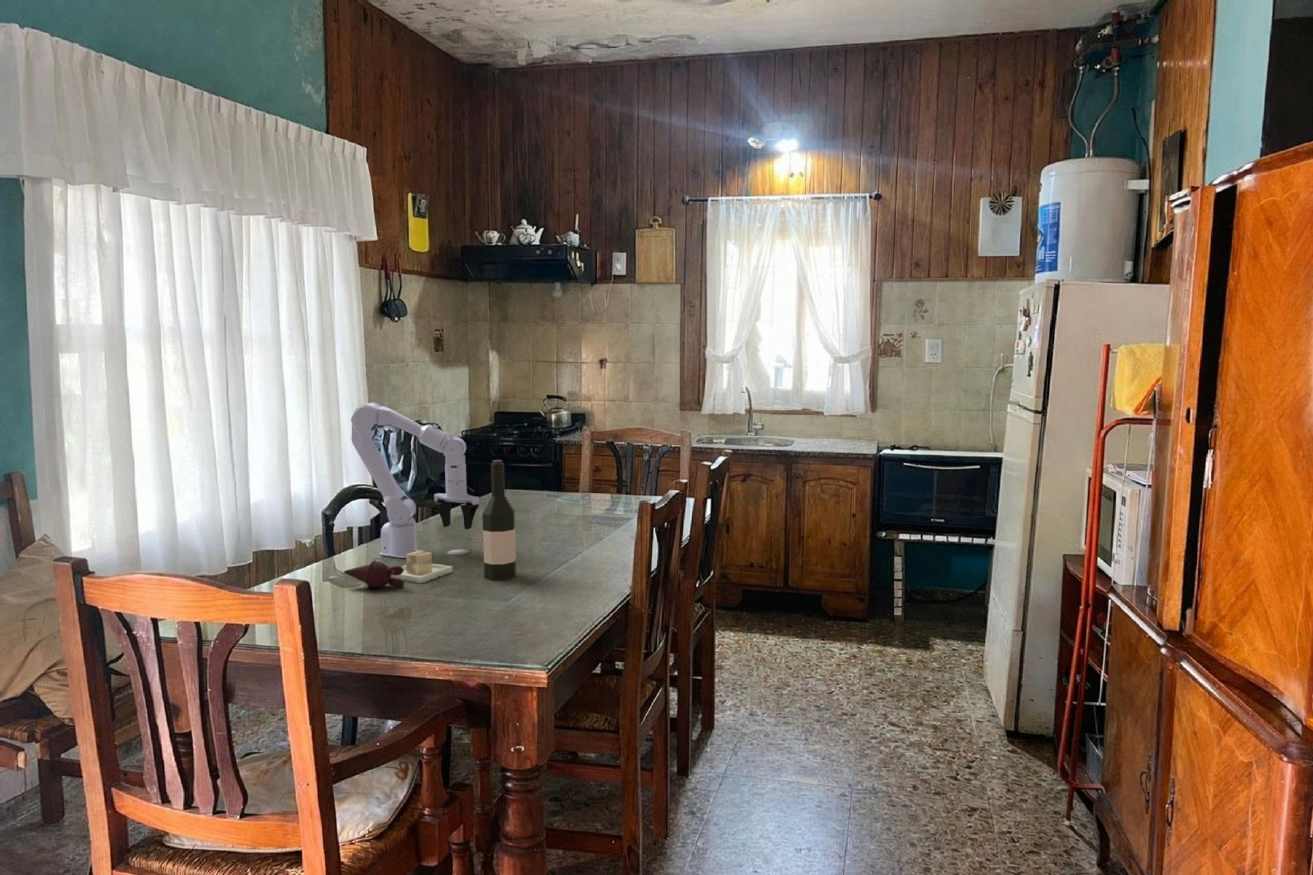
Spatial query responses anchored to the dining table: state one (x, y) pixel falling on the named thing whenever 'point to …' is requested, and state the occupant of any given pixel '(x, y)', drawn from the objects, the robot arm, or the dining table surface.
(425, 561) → the block
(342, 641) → the dining table surface
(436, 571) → the tray
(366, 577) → the icecream
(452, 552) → the pad
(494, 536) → the wine bottle
